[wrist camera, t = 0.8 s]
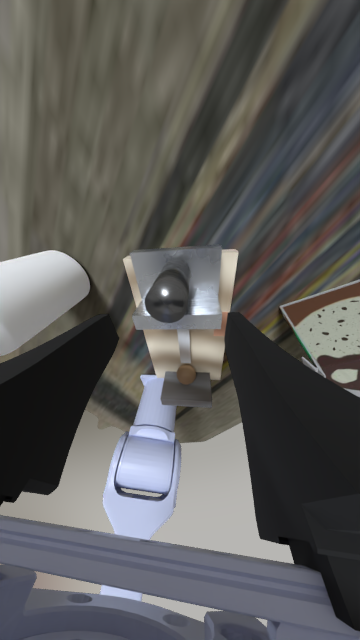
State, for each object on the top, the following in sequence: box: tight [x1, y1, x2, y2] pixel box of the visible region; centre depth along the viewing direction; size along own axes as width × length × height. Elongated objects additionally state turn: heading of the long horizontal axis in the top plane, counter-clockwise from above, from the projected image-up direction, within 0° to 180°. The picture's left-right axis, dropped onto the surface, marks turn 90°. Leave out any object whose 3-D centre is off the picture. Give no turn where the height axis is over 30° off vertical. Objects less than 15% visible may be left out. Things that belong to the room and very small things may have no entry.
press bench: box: [123, 249, 238, 408], centre depth 20 cm, size 22×12×6 cm, turn 5°
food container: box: [279, 280, 360, 397], centre depth 15 cm, size 12×6×10 cm, turn 118°
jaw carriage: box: [130, 244, 222, 330], centre depth 12 cm, size 6×8×7 cm
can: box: [0, 250, 90, 356], centre depth 14 cm, size 6×6×12 cm
